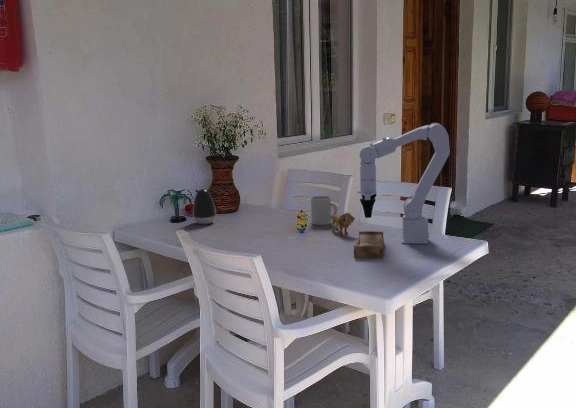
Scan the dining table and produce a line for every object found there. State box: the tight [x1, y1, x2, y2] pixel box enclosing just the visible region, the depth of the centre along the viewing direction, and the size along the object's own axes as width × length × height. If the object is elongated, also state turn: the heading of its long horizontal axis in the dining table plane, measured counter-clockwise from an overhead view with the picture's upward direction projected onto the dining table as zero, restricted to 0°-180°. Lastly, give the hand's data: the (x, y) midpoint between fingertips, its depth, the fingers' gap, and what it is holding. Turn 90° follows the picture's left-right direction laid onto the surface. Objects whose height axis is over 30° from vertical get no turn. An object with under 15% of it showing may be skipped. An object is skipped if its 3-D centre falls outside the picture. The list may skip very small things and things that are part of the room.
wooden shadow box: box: [353, 230, 385, 259], centre depth 211 cm, size 10×19×4 cm, turn 169°
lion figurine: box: [328, 212, 356, 236], centre depth 235 cm, size 15×5×9 cm, turn 32°
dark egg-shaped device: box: [192, 188, 217, 225], centre depth 259 cm, size 10×10×15 cm
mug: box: [310, 195, 338, 226], centre depth 250 cm, size 12×8×11 cm
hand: (368, 215), depth 220 cm, fingers open, 7 cm apart
